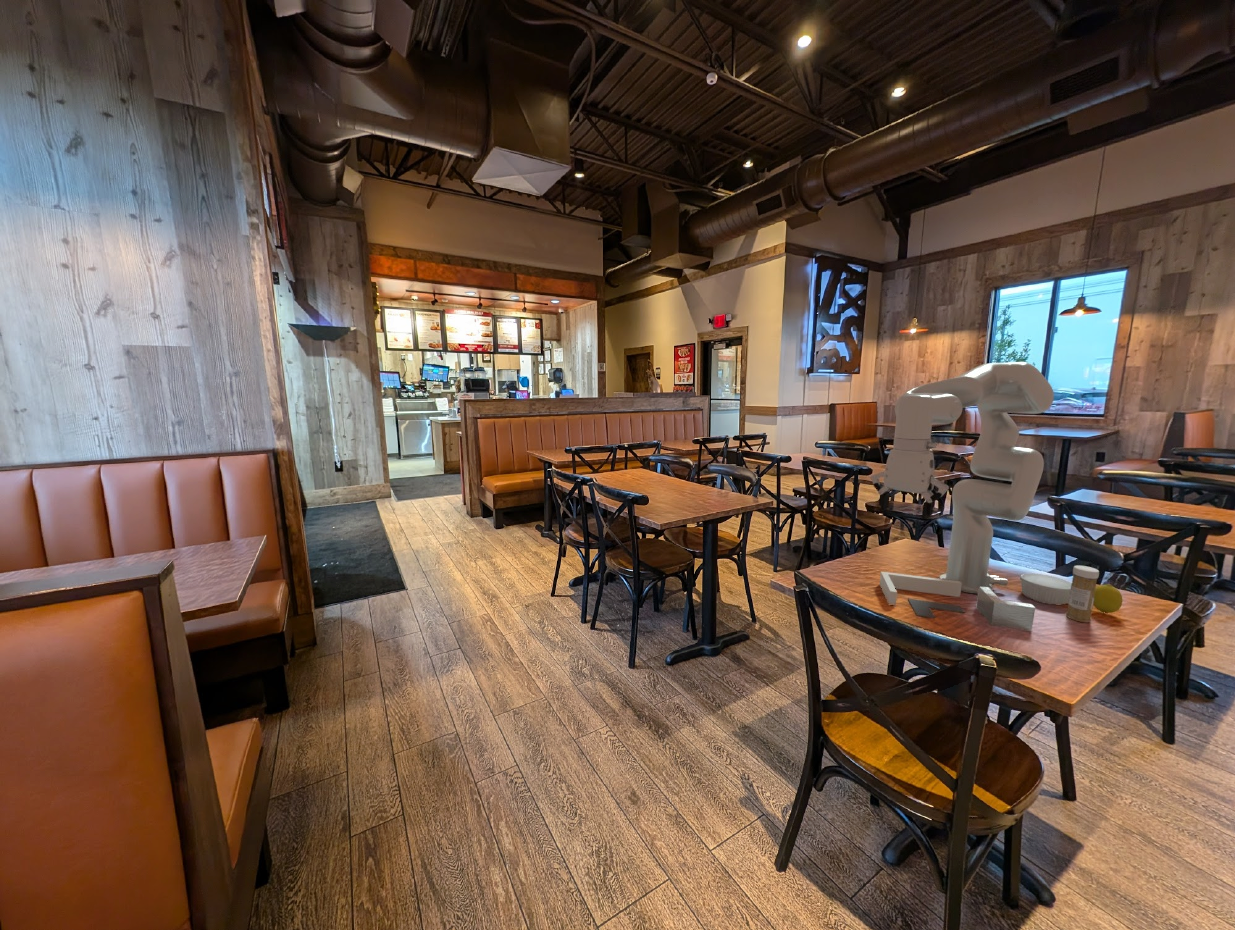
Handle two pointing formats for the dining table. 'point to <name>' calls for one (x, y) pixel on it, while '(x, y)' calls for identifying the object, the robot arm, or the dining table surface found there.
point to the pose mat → (932, 607)
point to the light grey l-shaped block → (916, 585)
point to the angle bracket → (1004, 611)
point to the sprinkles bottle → (1082, 593)
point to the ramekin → (1045, 588)
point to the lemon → (1107, 598)
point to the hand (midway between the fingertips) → (904, 513)
